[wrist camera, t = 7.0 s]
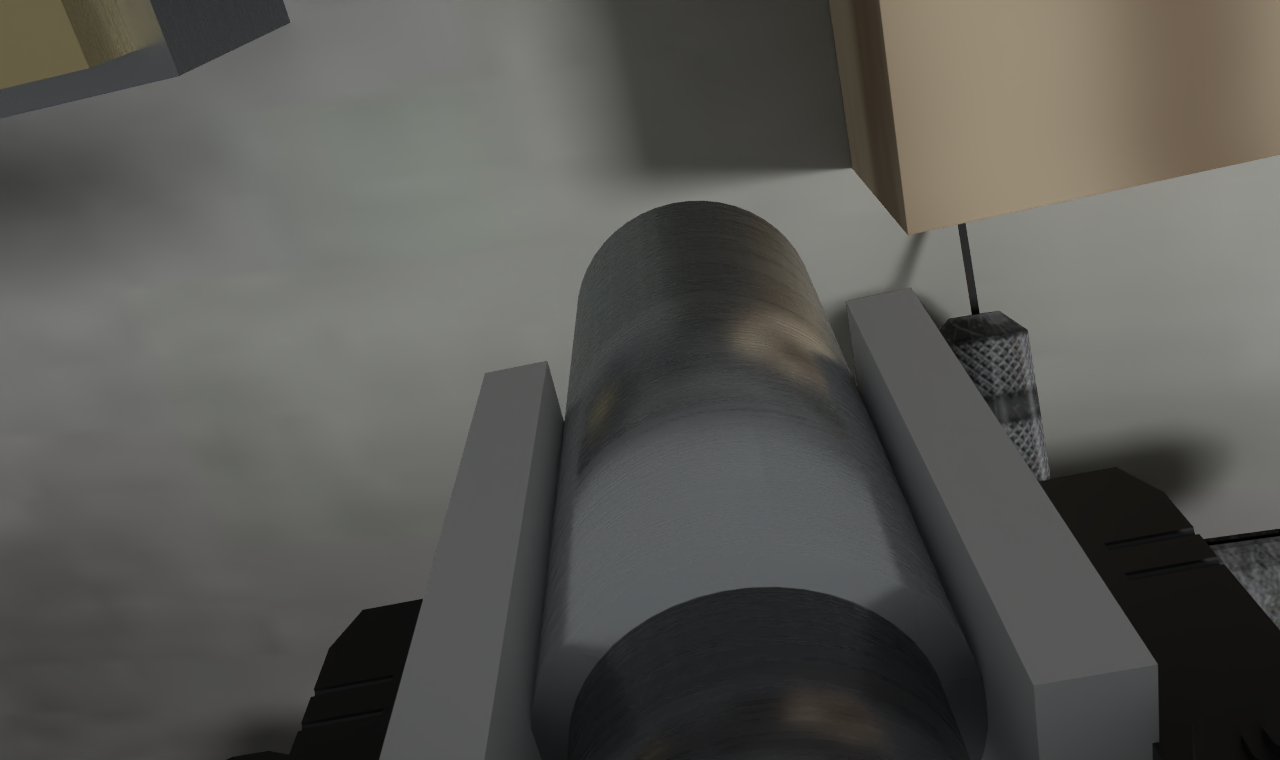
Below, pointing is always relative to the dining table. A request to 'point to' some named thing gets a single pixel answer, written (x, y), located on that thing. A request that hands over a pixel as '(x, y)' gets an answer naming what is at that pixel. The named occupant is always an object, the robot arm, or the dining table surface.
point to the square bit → (116, 44)
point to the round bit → (734, 525)
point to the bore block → (1049, 98)
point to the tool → (1004, 376)
